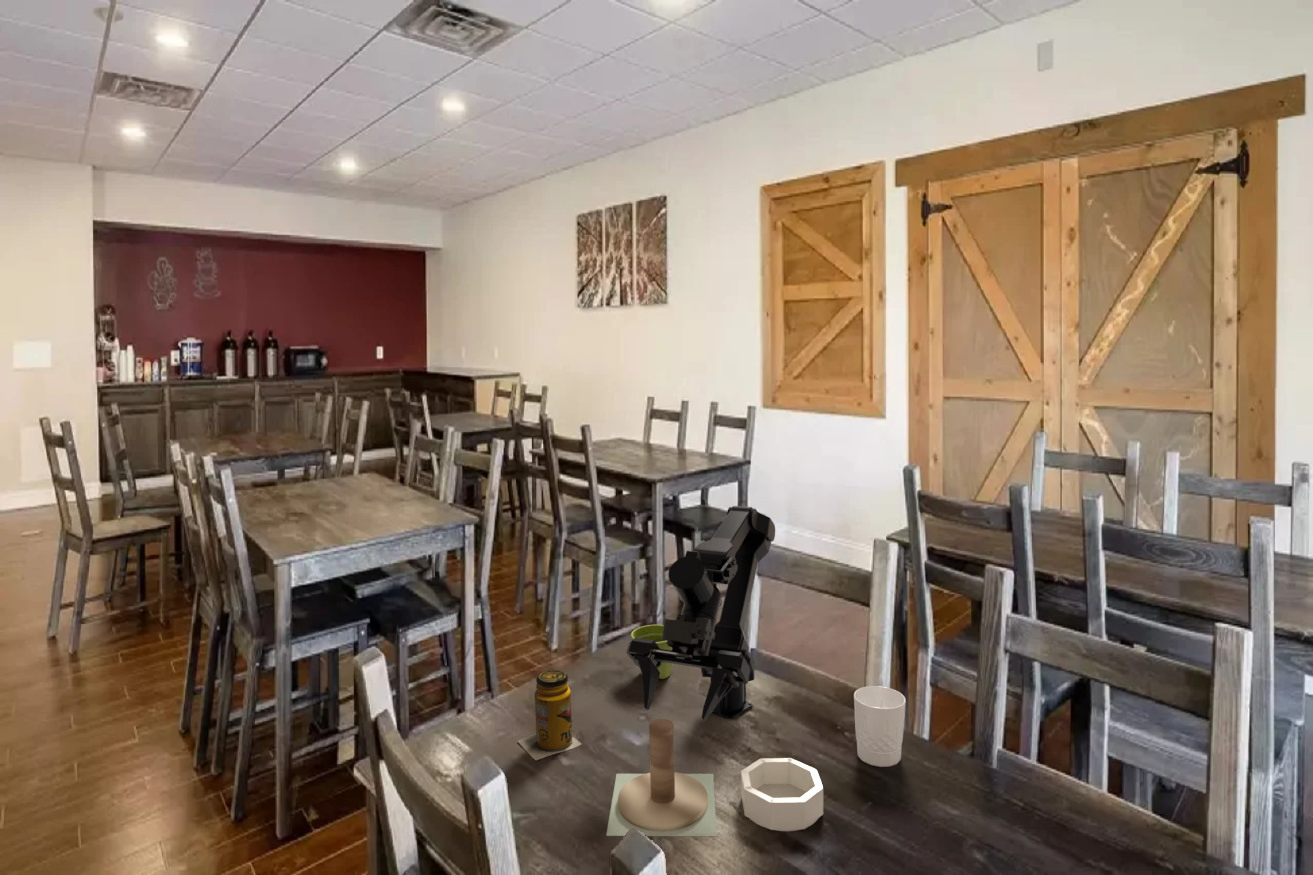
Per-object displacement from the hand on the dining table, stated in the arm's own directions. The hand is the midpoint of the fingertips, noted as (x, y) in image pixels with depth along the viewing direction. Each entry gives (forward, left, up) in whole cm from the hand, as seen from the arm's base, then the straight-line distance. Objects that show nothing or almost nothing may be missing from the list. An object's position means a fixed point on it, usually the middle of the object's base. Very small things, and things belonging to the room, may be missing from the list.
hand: (674, 714), depth 115 cm
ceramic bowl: (-6, +15, -11) cm, 20 cm away
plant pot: (-25, -30, -12) cm, 41 cm away
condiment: (+6, -24, -12) cm, 27 cm away
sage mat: (+5, +2, -11) cm, 12 cm away
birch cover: (+5, +2, -11) cm, 12 cm away
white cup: (-28, +18, -12) cm, 36 cm away
